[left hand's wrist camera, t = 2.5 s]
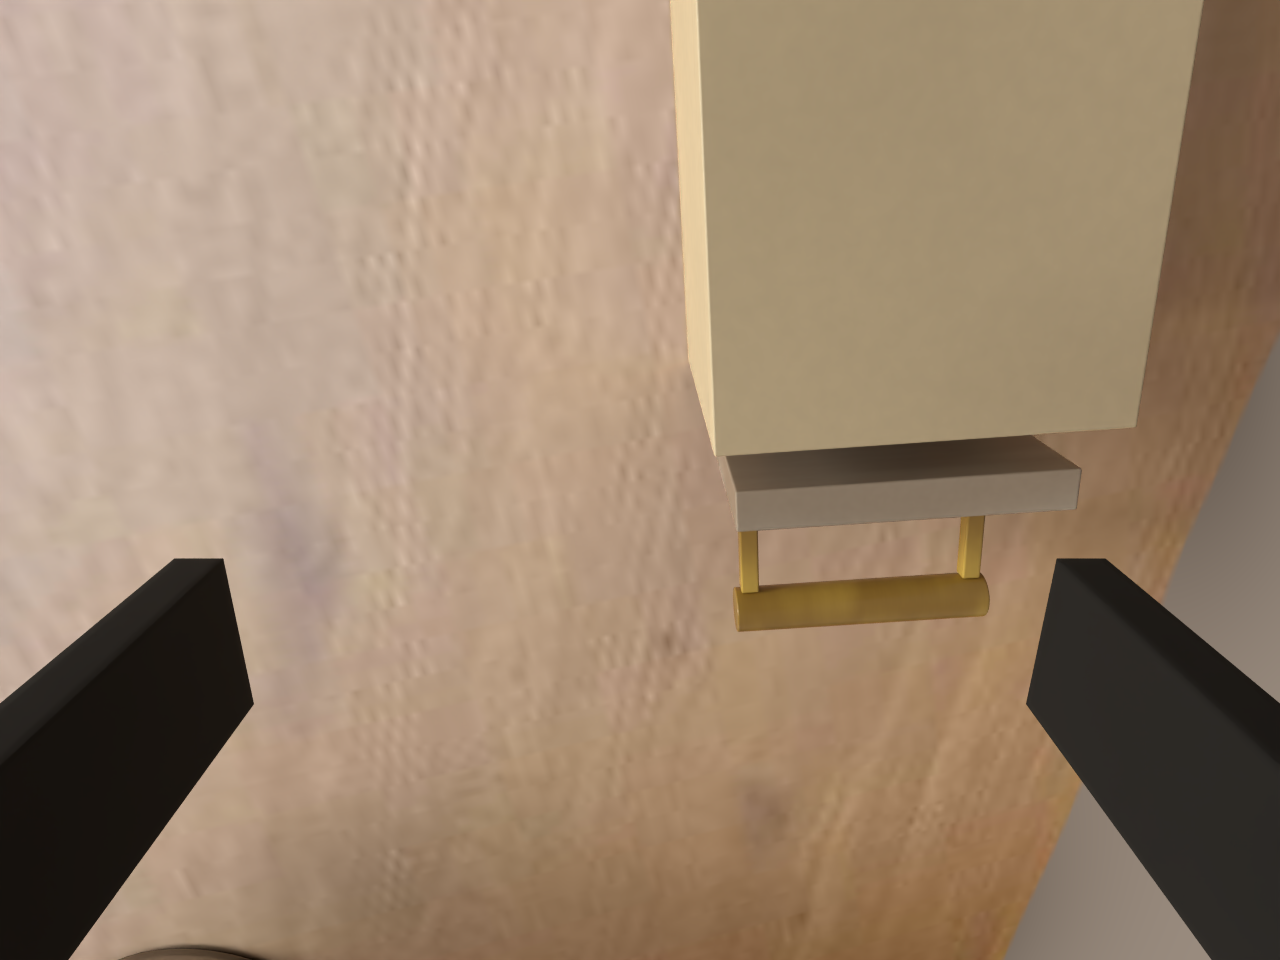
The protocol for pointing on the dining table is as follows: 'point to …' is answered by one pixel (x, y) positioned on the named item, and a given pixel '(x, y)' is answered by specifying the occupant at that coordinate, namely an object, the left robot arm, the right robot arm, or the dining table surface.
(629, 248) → the dining table surface
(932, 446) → the drawer
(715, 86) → the cabinet
